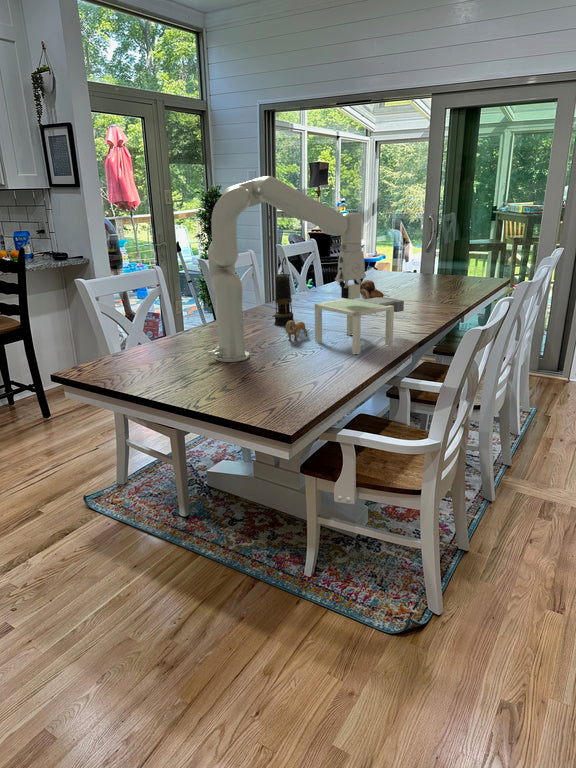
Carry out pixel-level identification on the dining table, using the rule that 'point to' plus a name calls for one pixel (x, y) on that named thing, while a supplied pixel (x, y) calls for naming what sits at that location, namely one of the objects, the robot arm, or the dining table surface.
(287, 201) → the robot arm
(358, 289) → the stone block
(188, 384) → the dining table surface
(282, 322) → the lantern
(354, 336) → the trapdoor frame
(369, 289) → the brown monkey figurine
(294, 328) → the lion figurine
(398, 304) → the trapdoor plate
